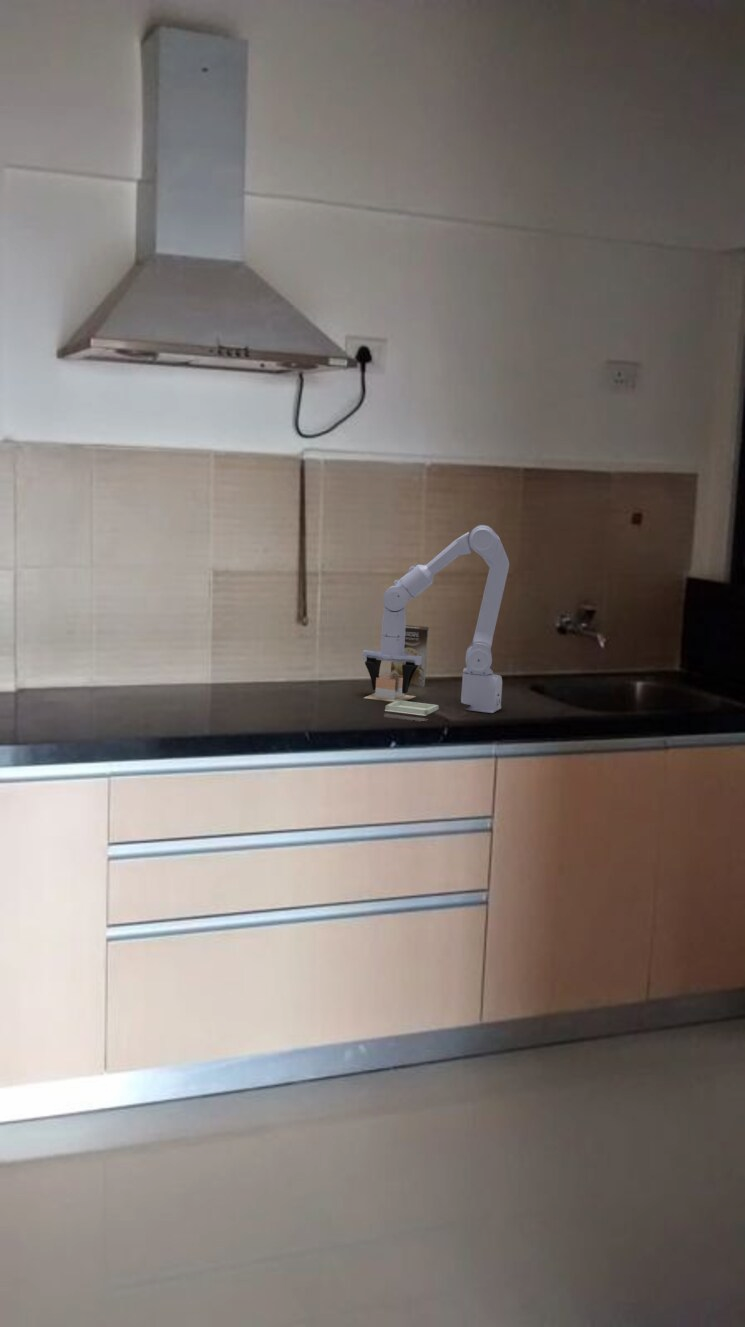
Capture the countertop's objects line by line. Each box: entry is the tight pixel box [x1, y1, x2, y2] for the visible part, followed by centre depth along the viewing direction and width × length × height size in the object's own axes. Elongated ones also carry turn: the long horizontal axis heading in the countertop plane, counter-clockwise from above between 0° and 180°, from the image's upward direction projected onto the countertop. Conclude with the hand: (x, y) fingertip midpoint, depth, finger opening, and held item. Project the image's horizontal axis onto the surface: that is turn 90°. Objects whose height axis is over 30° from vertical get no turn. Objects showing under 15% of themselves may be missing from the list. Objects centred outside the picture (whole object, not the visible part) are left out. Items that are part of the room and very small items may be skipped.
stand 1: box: [363, 692, 417, 703], centre depth 322 cm, size 10×10×2 cm
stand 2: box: [383, 700, 440, 722], centre depth 307 cm, size 10×10×2 cm
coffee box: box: [390, 624, 429, 687], centre depth 344 cm, size 9×6×16 cm
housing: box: [374, 673, 406, 700], centre depth 321 cm, size 5×7×5 cm
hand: (390, 691), depth 322 cm, fingers open, 7 cm apart
